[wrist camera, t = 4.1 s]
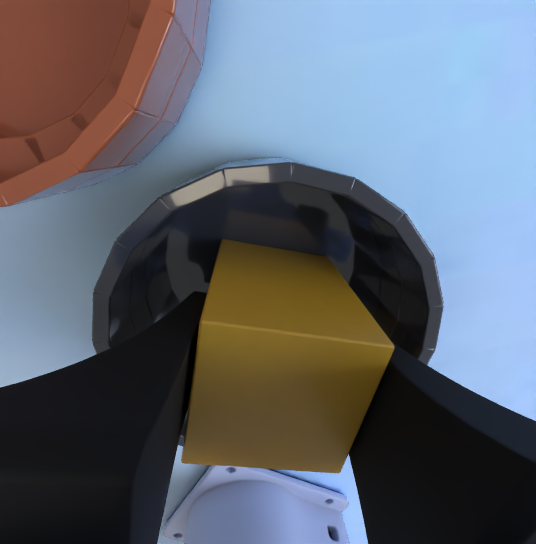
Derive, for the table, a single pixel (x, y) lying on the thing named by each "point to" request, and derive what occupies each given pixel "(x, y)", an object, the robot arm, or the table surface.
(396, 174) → the table surface
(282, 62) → the table surface
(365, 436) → the robot arm
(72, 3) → the bowl
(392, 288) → the pot
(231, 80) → the table surface
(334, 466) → the block
